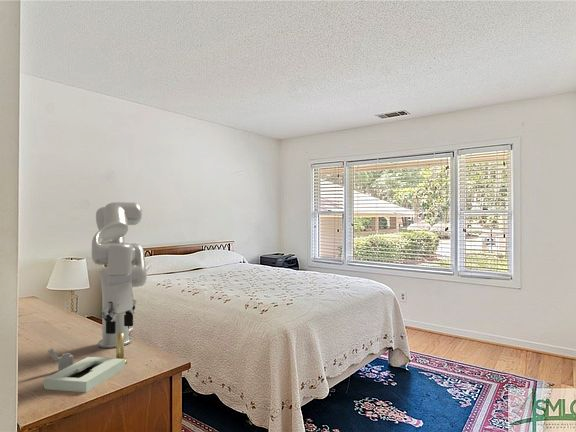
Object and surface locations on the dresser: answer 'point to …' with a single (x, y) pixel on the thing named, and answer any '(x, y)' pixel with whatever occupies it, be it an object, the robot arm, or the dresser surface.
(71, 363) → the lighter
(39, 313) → the dresser surface
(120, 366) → the board
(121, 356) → the peg
